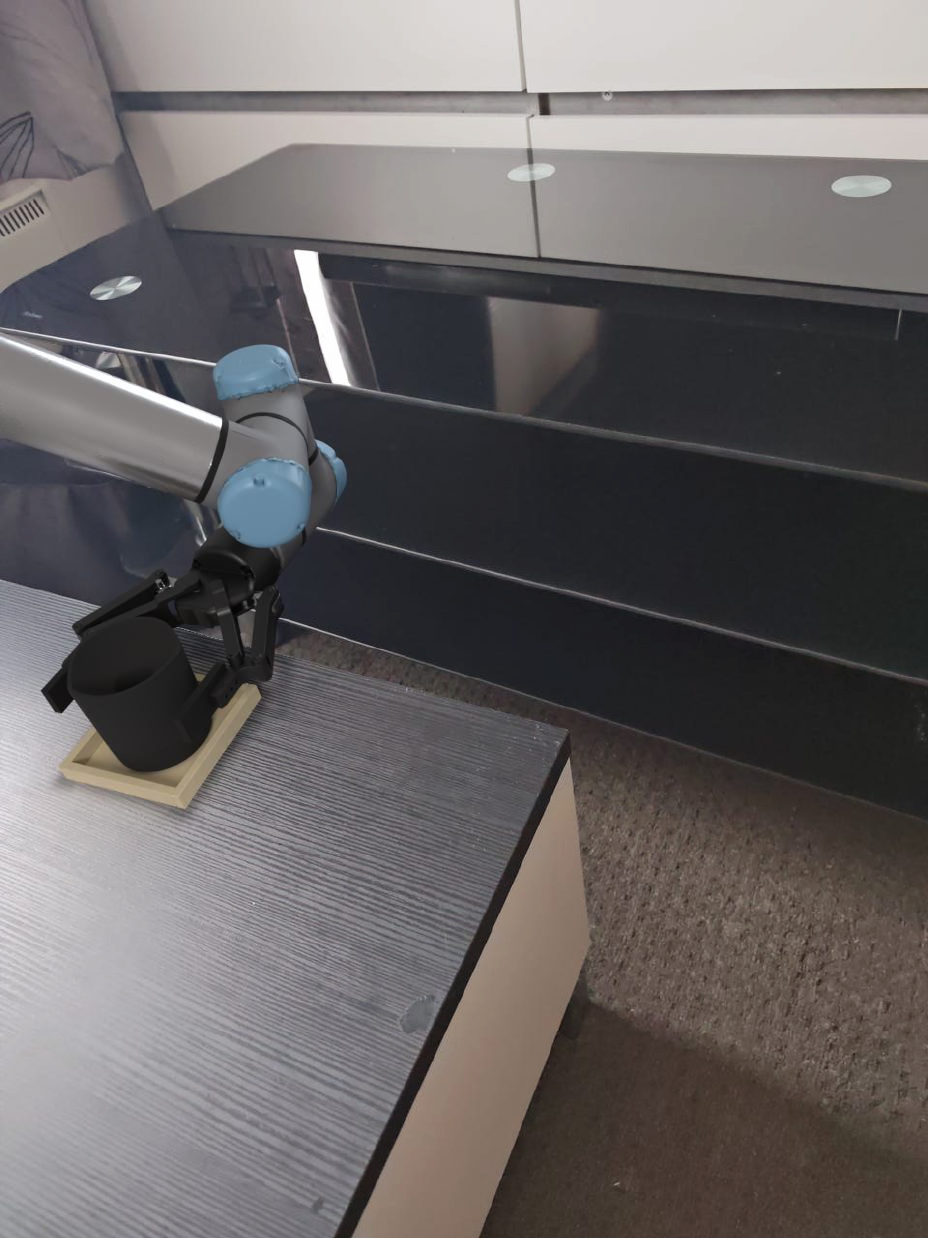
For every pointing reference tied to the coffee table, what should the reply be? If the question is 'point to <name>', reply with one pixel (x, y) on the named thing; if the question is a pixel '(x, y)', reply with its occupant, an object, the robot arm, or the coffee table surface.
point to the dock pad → (169, 785)
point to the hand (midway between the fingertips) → (114, 716)
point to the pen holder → (136, 691)
